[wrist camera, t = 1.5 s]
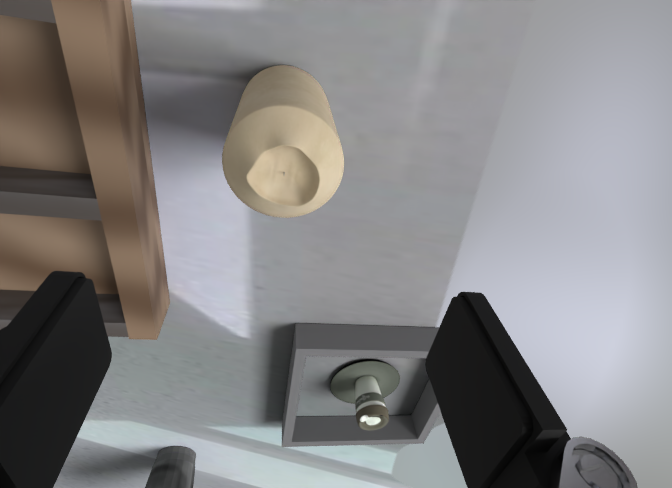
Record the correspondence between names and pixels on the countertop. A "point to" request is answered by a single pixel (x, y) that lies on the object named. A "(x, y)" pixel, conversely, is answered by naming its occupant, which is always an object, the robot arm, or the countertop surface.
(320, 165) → the candle
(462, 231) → the countertop surface
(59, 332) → the robot arm
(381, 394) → the coffee cup
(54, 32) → the wooden divided tray
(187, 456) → the beverage cup
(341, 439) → the grey shallow square tray
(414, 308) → the countertop surface
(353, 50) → the countertop surface
